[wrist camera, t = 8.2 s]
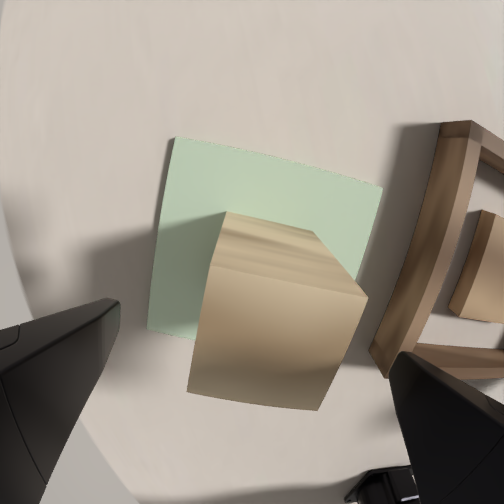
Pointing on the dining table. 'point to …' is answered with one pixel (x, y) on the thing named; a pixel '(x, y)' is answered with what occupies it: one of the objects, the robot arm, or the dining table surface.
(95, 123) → the dining table surface
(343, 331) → the beech block
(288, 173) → the green mat
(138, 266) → the dining table surface
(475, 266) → the wooden rectangular frame
